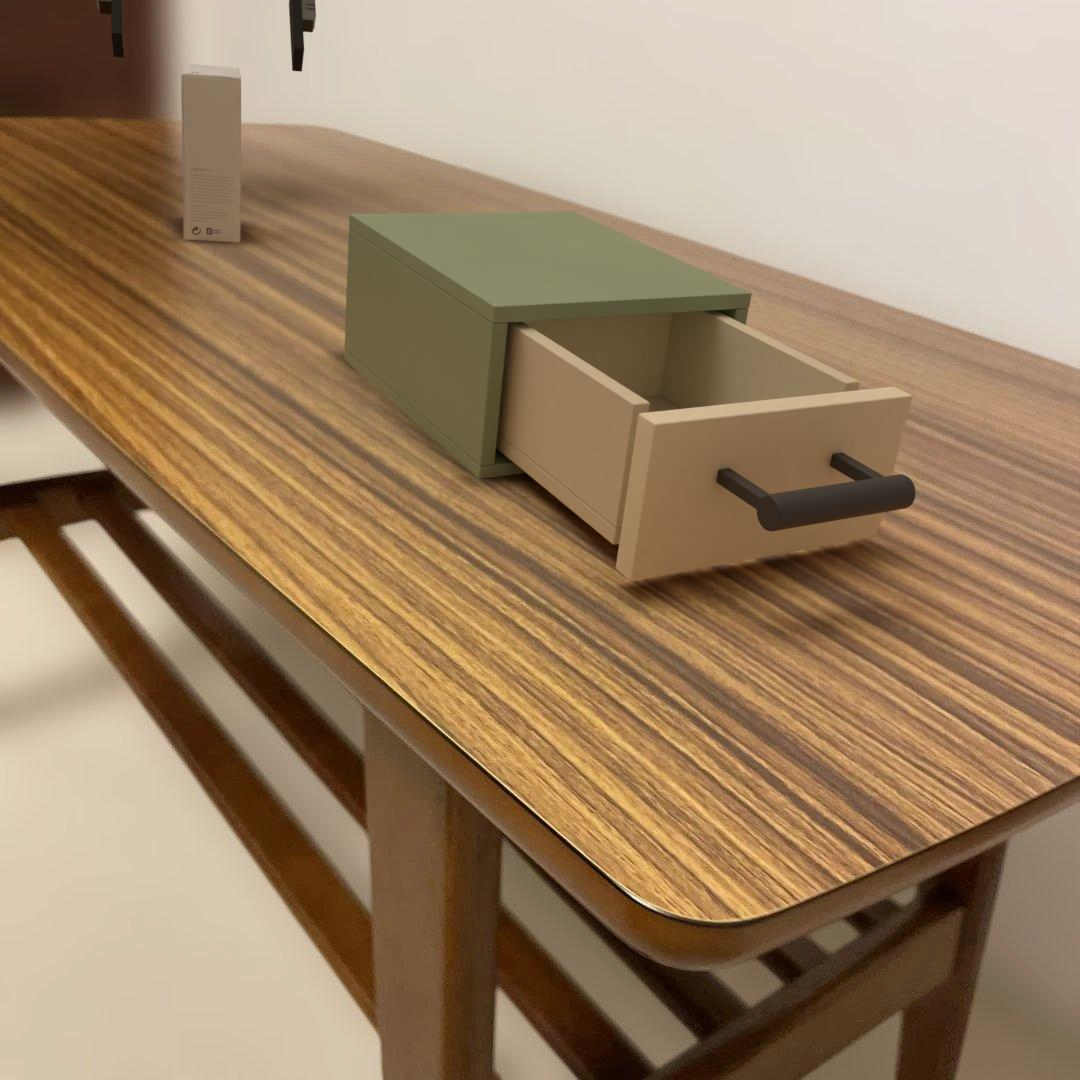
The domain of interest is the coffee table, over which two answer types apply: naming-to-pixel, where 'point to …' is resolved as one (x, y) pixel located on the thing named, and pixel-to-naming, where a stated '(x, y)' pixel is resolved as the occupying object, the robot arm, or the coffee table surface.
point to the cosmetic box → (211, 152)
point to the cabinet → (492, 306)
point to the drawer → (698, 438)
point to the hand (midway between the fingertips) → (209, 53)
